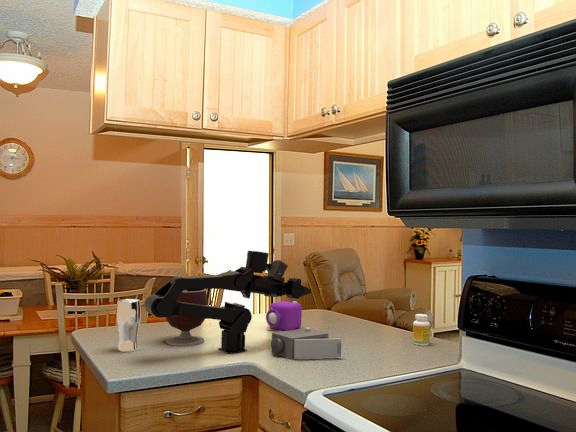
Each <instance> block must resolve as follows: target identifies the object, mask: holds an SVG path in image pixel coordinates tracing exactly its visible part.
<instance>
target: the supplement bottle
mask: <svg viewBox="0 0 576 432" xmlns="http://www.w3.org/2000/svg"><path fill="white" fill-rule="evenodd" d="M414 318H415V320H414V321H413V323H412V324H413V325H412V332H413V333H412V343H413V345H416V346H423V347H426V346H430V342H431V341H430V339H431V336H430V335H431V334H430V333H431V331H430V329H431V328H430V327H431V323H430V322H429V321H428V320H429V316H428V314H424V313H416V314H415V315H414Z"/></svg>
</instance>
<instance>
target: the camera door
mask: <svg viewBox="0 0 576 432" xmlns="http://www.w3.org/2000/svg"><path fill="white" fill-rule="evenodd" d="M329 358H332V359H333V358H334V359H335V358H342V338H341V337H339V338H337V337H335V338H334V337H333V338H331V337H330V338H329V337H328V339H294V359H293V360H297V359H298V360H301V359H304V360H306V359H329Z"/></svg>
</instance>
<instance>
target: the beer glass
mask: <svg viewBox="0 0 576 432" xmlns="http://www.w3.org/2000/svg"><path fill="white" fill-rule="evenodd" d="M141 314H142V309H141V299H137V298H123V299H118V300H117V307H116V323H117V330H118V335H119V337H118V346H117V351H118V352H121V353H132V352H137V351H138V350H139V344H138V342H139V341H138V334H139V328H140V325H141V319H142V318H141V317H142V315H141Z"/></svg>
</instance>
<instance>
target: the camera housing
mask: <svg viewBox="0 0 576 432" xmlns="http://www.w3.org/2000/svg"><path fill="white" fill-rule="evenodd" d="M294 339H329V332H325V331H324V332H323V331H320V330H317V329H313V328H311V327H308V326H306V327H304V328H297V329H292V330H281V331H273V332H271V341H270V348H271V353H272V354H276V355H278V356H281V357H284V358H287V359H290V360H295V359H294Z"/></svg>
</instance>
